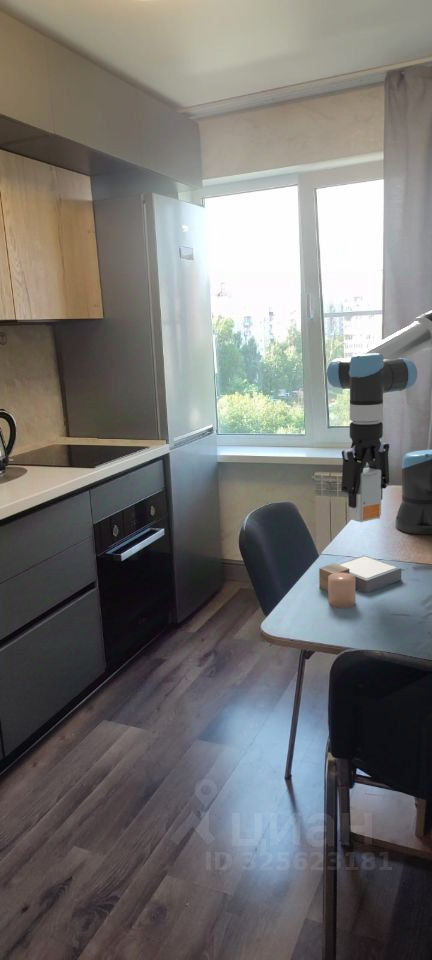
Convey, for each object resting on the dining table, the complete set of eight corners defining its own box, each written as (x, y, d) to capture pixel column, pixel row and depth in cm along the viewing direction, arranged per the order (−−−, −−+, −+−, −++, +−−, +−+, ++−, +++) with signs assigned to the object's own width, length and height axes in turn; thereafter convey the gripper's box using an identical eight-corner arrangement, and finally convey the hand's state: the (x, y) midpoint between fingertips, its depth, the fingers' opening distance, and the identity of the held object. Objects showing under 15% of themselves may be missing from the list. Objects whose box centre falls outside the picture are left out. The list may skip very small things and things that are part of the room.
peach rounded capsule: (341, 594, 156) (341, 570, 155) (361, 602, 152) (361, 578, 150) (322, 601, 153) (322, 577, 152) (341, 610, 148) (341, 584, 147)
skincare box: (361, 523, 158) (361, 473, 155) (349, 518, 162) (349, 470, 159) (381, 518, 161) (381, 469, 158) (369, 514, 164) (369, 466, 162)
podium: (364, 566, 173) (364, 554, 172) (401, 579, 163) (401, 567, 162) (330, 578, 166) (330, 566, 166) (366, 592, 157) (366, 580, 156)
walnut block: (334, 582, 164) (334, 563, 163) (349, 588, 160) (349, 568, 159) (319, 587, 161) (319, 568, 160) (334, 594, 157) (334, 574, 156)
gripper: (382, 415, 164) (381, 506, 169) (324, 425, 153) (325, 521, 159) (406, 418, 158) (405, 512, 163) (348, 428, 147) (348, 529, 153)
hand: (365, 516), depth 161 cm, fingers closed on skincare box, 6 cm apart
